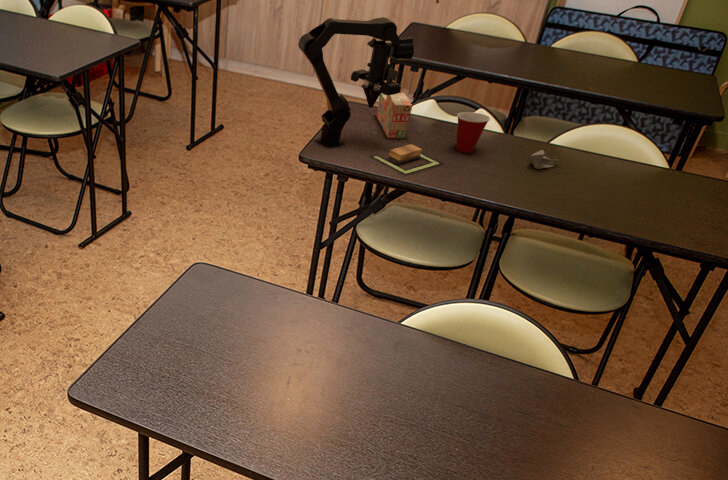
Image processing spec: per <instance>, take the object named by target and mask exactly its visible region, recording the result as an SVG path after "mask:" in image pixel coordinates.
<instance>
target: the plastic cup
mask: <svg viewBox="0 0 728 480" xmlns="http://www.w3.org/2000/svg"><path fill="white" fill-rule="evenodd" d="M456 117H457V128H456V129H457V131H456V143H455V149H456V150H457V151H458V152H461V153H467V154H468V153H473V151H474V150H475V148H476V145H477V144H478V142H479V140H480V138H481V136H482V134H483V132H484V130H485V128H486V126H487V125H488V122H489V121H490V120H491V117H490V116H489V115H487V114H483V113H480V112H472V111H471V112H470V111H464V112H463V111H462V112H458V113H457V114H456Z"/></svg>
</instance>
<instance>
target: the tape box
mask: <svg viewBox="0 0 728 480" xmlns="http://www.w3.org/2000/svg"><path fill="white" fill-rule="evenodd" d="M373 158H374V159H376V160H377V161H380V162H382V163H384V164H385V165H387V166H389V167H390V168H393V169H395V170H397V171H399V172H401V173H403V174H404V175H407V174H411V173H414V172H418V171H421V170H425V169H428V168H431V167H433V166H438V165H440V162H438V161H436V160H433V159H432V158H430V157H428V156H425V155H424V154H422V153H421V155H420V158H421V159H424V160H426V161H427V162H430V163H427V164H424V165H421V166H417V167H415V168H410V169H408V170H406V169H405V170H404V169H403V168H401V167H399V166H397V165H396V164H394V163H392V162H390V161H389V160H386V159H383V158H381V157H380V156H378V155H374V156H373Z"/></svg>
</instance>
